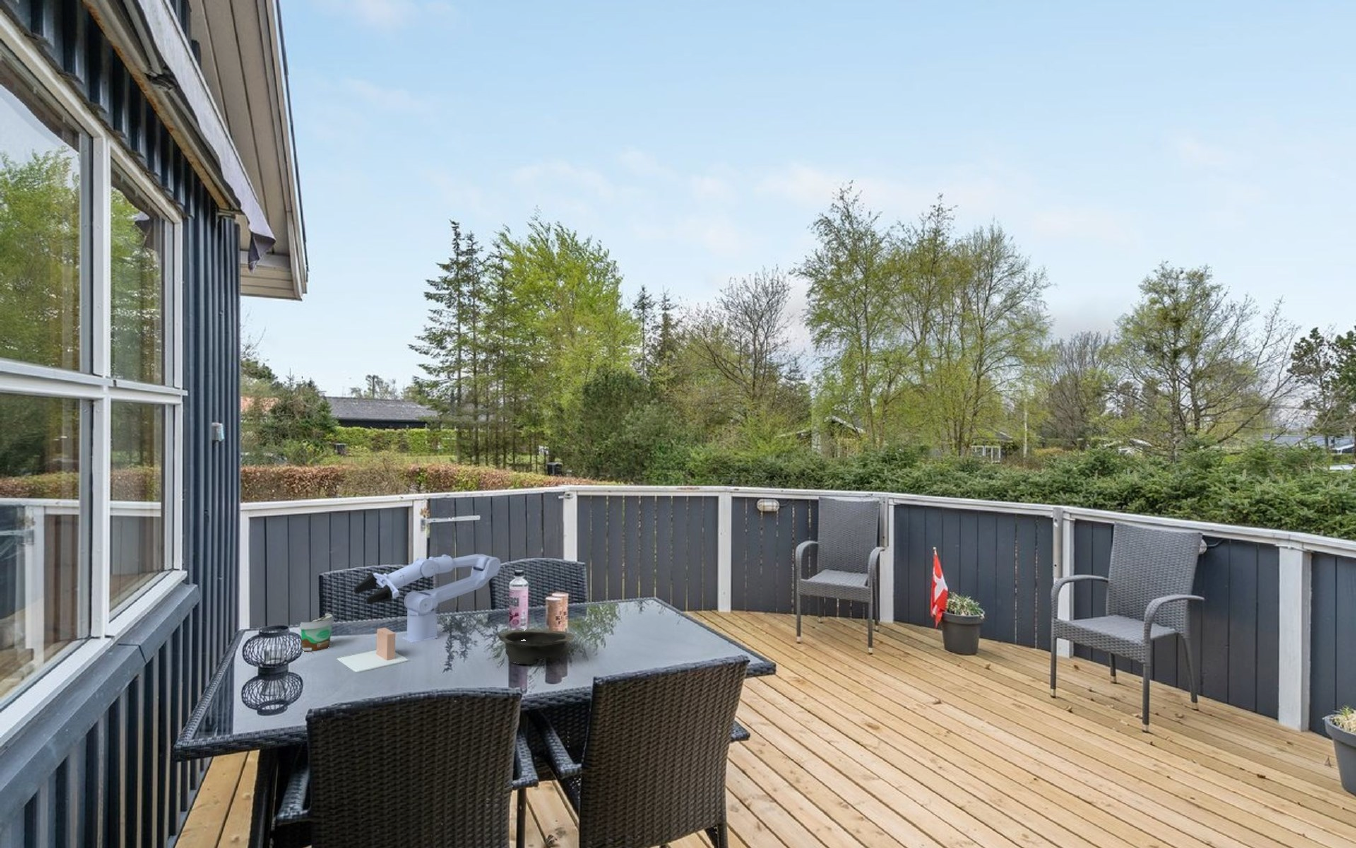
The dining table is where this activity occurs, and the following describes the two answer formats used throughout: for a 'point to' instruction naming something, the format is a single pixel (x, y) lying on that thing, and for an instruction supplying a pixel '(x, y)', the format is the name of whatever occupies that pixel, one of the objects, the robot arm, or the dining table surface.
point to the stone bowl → (534, 645)
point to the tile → (385, 644)
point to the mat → (369, 661)
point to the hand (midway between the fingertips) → (360, 596)
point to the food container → (316, 633)
